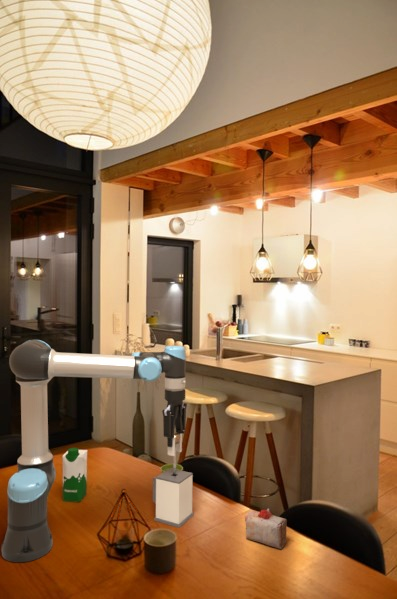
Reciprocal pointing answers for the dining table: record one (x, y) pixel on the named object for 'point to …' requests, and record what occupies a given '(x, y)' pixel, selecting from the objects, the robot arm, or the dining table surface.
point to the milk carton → (74, 475)
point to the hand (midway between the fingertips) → (174, 453)
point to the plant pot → (168, 466)
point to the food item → (266, 528)
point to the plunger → (177, 441)
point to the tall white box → (173, 497)
